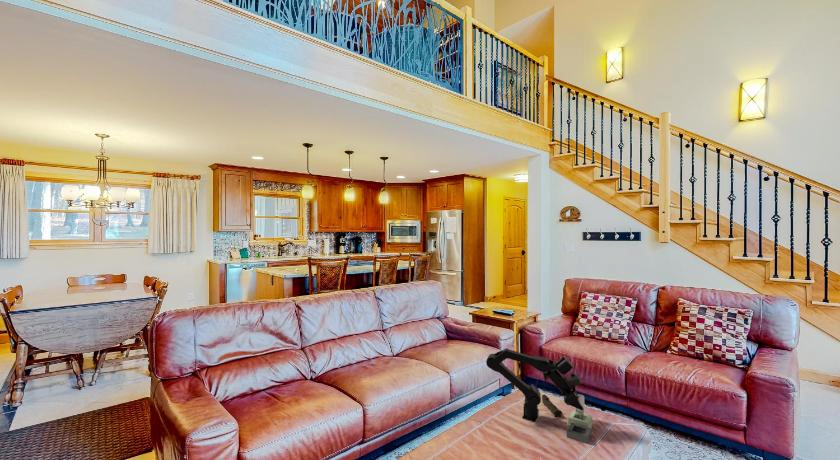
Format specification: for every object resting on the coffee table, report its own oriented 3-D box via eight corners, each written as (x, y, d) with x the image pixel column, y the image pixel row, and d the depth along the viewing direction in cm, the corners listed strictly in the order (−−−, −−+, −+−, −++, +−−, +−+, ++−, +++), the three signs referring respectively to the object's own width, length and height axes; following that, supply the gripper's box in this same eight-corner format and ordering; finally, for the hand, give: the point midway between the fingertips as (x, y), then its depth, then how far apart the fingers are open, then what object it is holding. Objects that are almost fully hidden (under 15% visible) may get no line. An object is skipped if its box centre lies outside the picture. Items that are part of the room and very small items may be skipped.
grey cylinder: (577, 424, 184) (577, 397, 184) (575, 420, 188) (575, 394, 188) (584, 424, 184) (585, 397, 184) (582, 421, 188) (583, 394, 187)
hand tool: (562, 418, 193) (562, 409, 193) (554, 418, 193) (554, 409, 193) (547, 401, 212) (547, 393, 212) (540, 401, 211) (540, 393, 211)
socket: (566, 437, 175) (566, 430, 175) (571, 429, 182) (571, 422, 182) (587, 444, 169) (587, 437, 169) (591, 435, 177) (591, 428, 177)
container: (566, 426, 185) (566, 417, 185) (571, 417, 193) (571, 409, 193) (589, 432, 179) (589, 424, 179) (593, 423, 187) (593, 415, 187)
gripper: (572, 376, 178) (598, 404, 175) (569, 363, 196) (592, 387, 193) (554, 391, 181) (579, 418, 177) (552, 376, 198) (575, 401, 195)
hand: (582, 405), depth 186 cm, fingers open, 9 cm apart
